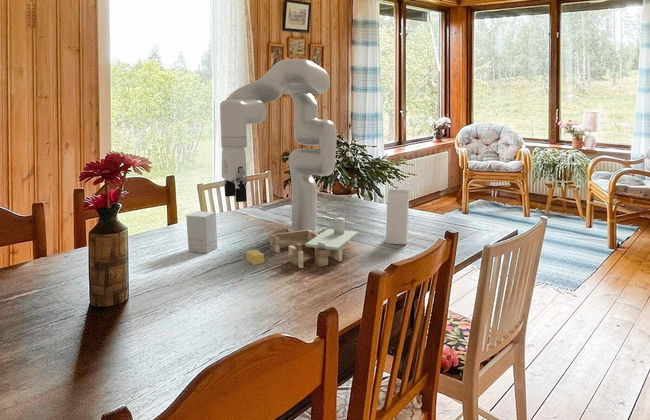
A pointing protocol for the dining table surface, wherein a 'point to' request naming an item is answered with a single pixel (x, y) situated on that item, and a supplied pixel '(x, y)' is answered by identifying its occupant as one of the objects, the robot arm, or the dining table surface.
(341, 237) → the cover
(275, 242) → the beige notched ring
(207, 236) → the supplement box
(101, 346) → the dining table surface
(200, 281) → the dining table surface
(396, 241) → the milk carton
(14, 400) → the dining table surface
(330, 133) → the robot arm
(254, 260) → the yellow rectangular block
